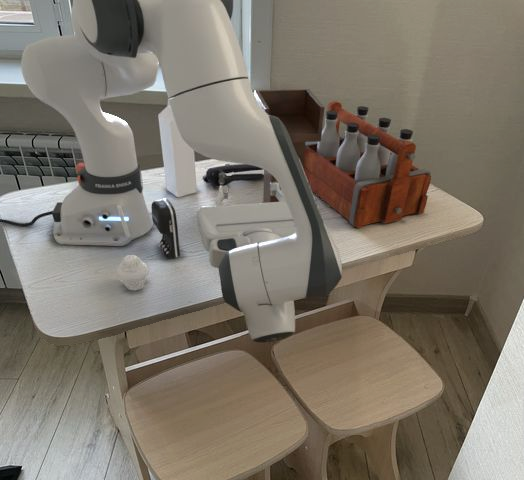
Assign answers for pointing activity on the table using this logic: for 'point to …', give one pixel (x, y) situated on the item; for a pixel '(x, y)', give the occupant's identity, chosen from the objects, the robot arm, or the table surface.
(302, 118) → the wooden pedestal stand
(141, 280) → the muffin
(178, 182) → the milk
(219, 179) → the can opener
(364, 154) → the milk bottle holder
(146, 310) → the table surface
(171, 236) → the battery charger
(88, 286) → the table surface
